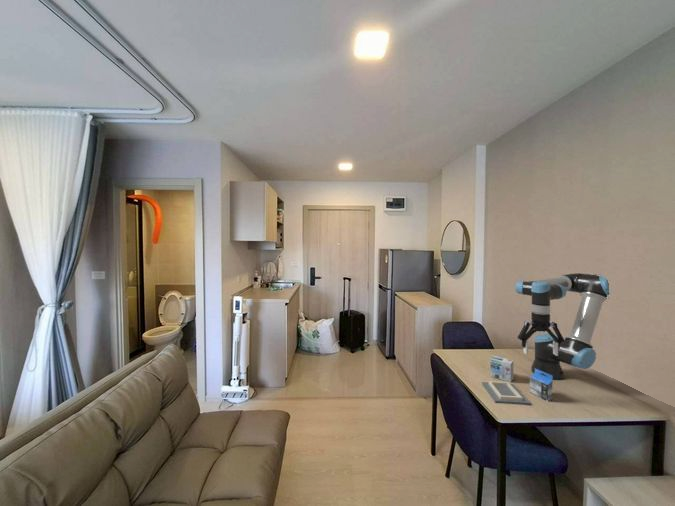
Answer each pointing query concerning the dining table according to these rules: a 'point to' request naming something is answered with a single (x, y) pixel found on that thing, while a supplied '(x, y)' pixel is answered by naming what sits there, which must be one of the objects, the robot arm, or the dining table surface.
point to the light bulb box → (501, 368)
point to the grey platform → (505, 393)
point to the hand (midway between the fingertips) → (540, 354)
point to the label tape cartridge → (541, 385)
